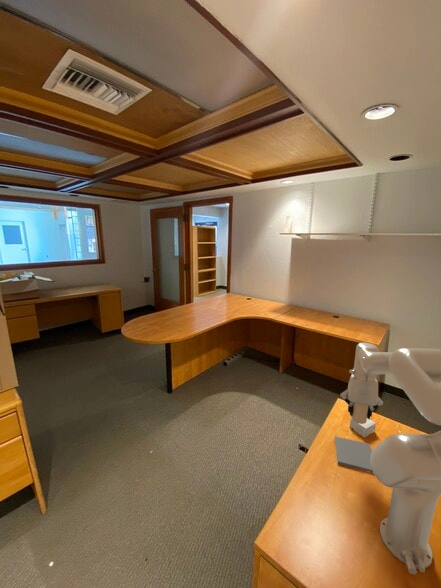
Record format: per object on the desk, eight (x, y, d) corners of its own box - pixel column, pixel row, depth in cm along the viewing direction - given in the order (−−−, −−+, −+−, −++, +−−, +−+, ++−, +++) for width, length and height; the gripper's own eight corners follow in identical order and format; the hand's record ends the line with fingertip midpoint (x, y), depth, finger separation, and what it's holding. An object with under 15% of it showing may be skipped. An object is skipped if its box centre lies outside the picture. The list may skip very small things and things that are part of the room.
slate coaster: (377, 474, 96) (377, 471, 96) (337, 463, 101) (337, 461, 100) (369, 446, 109) (369, 444, 109) (334, 438, 114) (334, 436, 113)
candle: (350, 421, 100) (353, 399, 98) (351, 413, 105) (353, 391, 103) (366, 425, 98) (369, 403, 96) (366, 417, 102) (369, 395, 100)
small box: (364, 438, 114) (365, 428, 113) (349, 427, 121) (350, 418, 120) (374, 432, 117) (376, 423, 116) (359, 421, 124) (360, 412, 123)
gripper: (341, 375, 97) (336, 416, 100) (392, 383, 91) (386, 426, 95) (339, 366, 103) (335, 405, 107) (387, 373, 98) (381, 414, 102)
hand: (359, 414), depth 101 cm, fingers closed on candle, 5 cm apart
